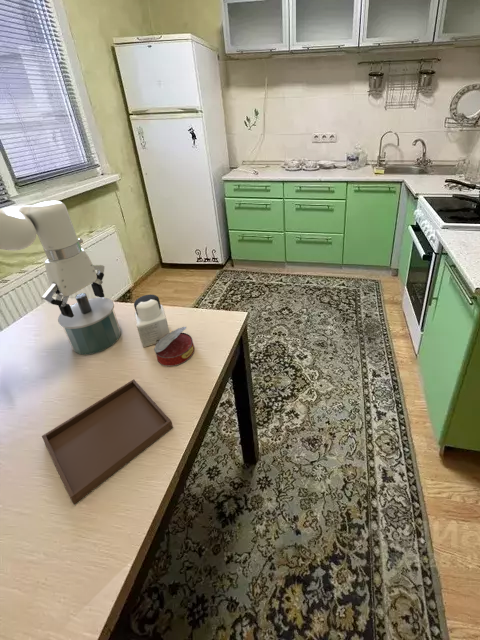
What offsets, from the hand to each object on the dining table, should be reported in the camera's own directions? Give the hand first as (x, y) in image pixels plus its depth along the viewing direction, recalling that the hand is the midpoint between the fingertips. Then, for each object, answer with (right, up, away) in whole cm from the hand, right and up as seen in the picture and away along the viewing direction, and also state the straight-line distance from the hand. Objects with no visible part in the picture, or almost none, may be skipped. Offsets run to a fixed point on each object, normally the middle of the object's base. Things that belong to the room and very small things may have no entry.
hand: (85, 305), depth 90 cm
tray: (+19, -24, -22) cm, 37 cm away
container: (+17, -10, +6) cm, 21 cm away
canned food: (+25, -13, -1) cm, 28 cm away
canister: (0, -11, +5) cm, 12 cm away
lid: (0, -2, +1) cm, 2 cm away
